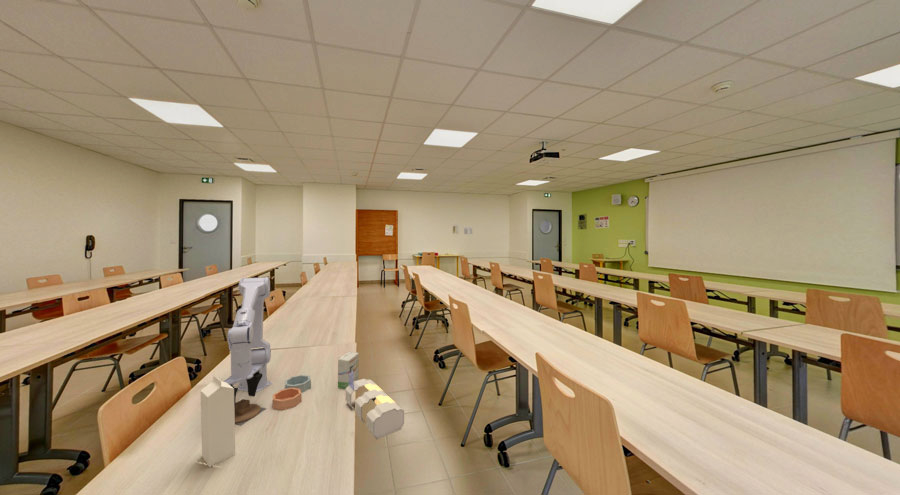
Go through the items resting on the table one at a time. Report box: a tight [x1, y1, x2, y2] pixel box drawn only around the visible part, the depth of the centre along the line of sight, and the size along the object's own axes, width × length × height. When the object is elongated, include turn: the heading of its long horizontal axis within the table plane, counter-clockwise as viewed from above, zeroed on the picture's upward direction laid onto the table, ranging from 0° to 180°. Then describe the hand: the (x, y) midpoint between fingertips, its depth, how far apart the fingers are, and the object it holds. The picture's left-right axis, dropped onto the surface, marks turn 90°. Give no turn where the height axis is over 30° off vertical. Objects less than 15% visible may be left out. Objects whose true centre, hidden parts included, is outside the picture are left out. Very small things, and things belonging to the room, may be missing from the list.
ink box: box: [337, 351, 360, 390], centre depth 126 cm, size 9×5×12 cm, turn 168°
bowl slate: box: [284, 374, 312, 394], centre depth 122 cm, size 9×9×4 cm
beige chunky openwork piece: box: [345, 372, 405, 441], centre depth 104 cm, size 25×10×13 cm, turn 37°
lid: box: [234, 398, 261, 424], centre depth 104 cm, size 10×10×4 cm
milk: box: [200, 374, 236, 468], centre depth 84 cm, size 6×6×22 cm
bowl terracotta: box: [272, 388, 302, 411], centre depth 111 cm, size 9×9×4 cm
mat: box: [235, 406, 268, 427], centre depth 104 cm, size 10×10×1 cm
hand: (242, 401), depth 103 cm, fingers open, 7 cm apart
